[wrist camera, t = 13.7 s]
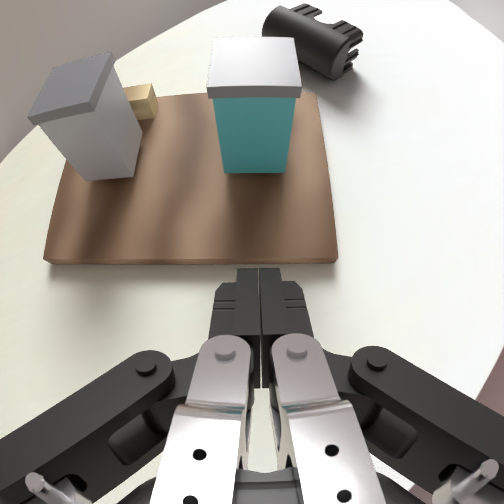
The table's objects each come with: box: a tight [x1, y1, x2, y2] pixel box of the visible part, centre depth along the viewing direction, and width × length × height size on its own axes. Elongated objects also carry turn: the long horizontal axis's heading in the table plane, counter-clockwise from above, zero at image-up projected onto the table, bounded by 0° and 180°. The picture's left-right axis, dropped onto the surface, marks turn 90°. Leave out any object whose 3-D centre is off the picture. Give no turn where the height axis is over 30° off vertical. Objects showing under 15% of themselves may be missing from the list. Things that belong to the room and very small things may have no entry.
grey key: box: [28, 52, 143, 181], centre depth 22 cm, size 5×5×10 cm
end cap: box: [262, 4, 363, 80], centre depth 31 cm, size 10×7×7 cm
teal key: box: [207, 37, 302, 173], centre depth 22 cm, size 5×5×10 cm
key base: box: [43, 84, 338, 264], centre depth 27 cm, size 26×18×4 cm
